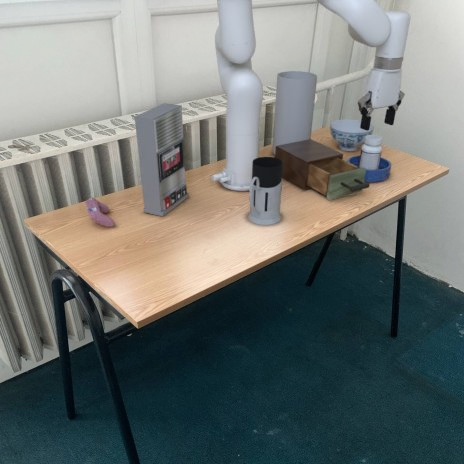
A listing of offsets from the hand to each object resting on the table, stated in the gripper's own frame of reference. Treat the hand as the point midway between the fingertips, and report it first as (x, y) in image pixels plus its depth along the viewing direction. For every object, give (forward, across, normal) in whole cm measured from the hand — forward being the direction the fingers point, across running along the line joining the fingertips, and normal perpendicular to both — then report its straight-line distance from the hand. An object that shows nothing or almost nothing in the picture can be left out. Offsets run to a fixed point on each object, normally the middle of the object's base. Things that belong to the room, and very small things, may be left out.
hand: (376, 126), depth 144 cm
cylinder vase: (+15, +10, -27) cm, 33 cm away
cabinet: (+15, +18, -8) cm, 25 cm away
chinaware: (+15, -12, -22) cm, 29 cm away
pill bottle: (+14, 0, 0) cm, 15 cm away
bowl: (+15, 0, 0) cm, 15 cm away
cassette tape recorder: (+14, +64, -11) cm, 67 cm away
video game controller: (+14, +83, -11) cm, 85 cm away
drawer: (+14, +18, +5) cm, 24 cm away
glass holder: (+14, +48, +10) cm, 51 cm away
